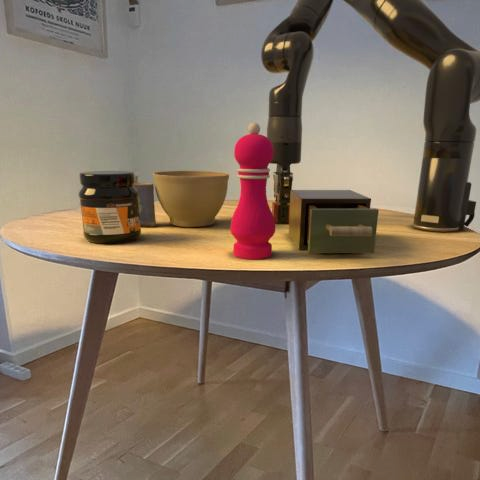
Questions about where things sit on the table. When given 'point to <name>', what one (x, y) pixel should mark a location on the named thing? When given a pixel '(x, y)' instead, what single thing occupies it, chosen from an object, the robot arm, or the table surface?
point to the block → (275, 212)
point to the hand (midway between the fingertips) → (281, 220)
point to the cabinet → (316, 197)
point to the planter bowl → (191, 195)
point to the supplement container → (109, 206)
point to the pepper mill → (253, 197)
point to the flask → (146, 203)
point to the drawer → (340, 228)
